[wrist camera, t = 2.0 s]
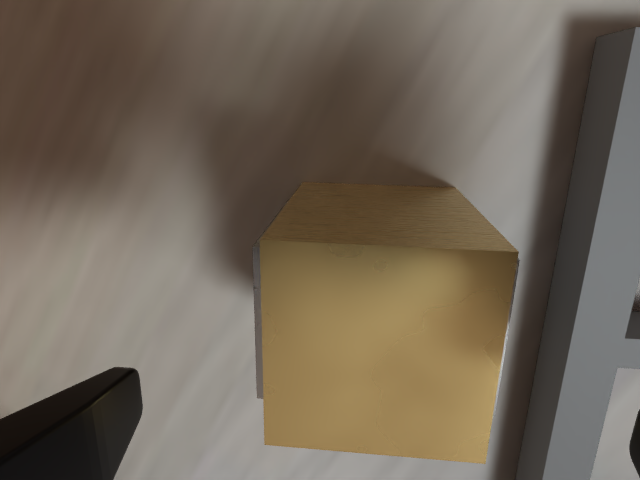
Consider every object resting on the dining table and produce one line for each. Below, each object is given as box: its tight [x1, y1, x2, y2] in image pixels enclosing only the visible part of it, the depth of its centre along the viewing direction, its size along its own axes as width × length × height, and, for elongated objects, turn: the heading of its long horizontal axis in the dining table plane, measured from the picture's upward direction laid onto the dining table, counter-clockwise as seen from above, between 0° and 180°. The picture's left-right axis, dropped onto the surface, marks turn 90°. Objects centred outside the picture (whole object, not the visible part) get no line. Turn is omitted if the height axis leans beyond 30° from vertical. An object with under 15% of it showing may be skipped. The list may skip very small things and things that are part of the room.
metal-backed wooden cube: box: [253, 182, 519, 464], centre depth 13 cm, size 6×5×6 cm
